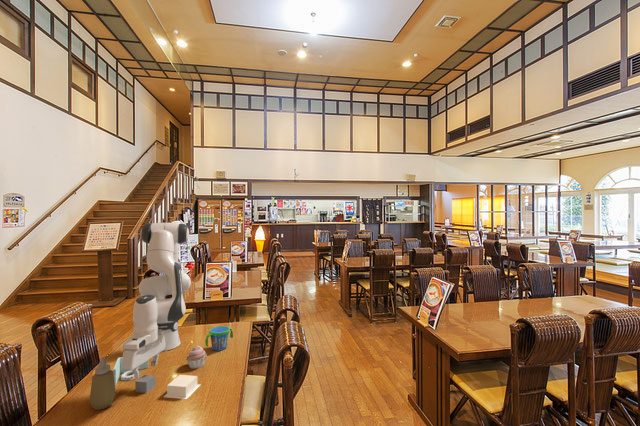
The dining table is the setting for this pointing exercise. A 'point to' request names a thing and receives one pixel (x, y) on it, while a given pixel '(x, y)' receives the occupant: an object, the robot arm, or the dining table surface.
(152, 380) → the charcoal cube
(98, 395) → the squeeze bottle
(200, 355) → the cupcake
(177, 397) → the light grey flat slab
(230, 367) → the dining table surface
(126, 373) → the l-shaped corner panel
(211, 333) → the snack cup
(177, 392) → the cream base block
